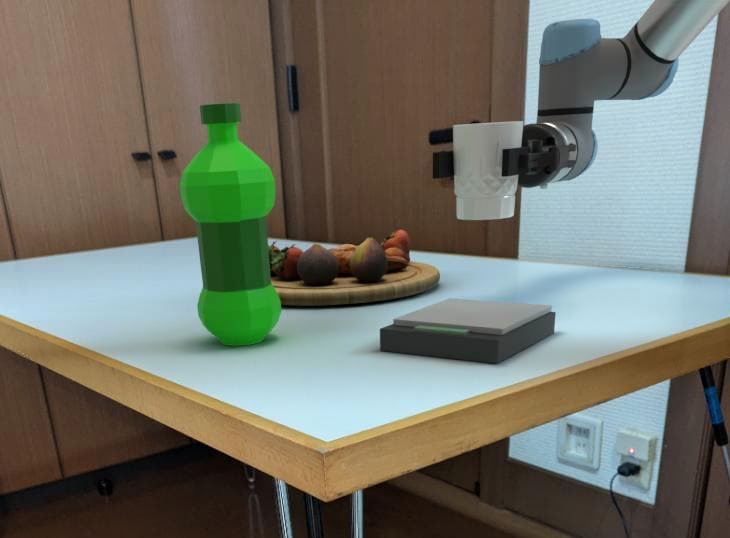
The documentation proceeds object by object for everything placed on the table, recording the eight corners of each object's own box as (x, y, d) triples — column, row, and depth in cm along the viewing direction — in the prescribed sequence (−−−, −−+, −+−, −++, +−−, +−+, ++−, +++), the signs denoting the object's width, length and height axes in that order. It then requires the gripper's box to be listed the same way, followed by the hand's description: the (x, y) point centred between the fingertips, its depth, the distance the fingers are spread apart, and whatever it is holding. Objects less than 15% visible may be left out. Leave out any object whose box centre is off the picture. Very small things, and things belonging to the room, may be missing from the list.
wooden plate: (381, 266, 144) (380, 217, 141) (480, 290, 118) (482, 231, 114) (210, 287, 133) (204, 234, 130) (278, 318, 107) (273, 253, 103)
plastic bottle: (269, 327, 102) (251, 105, 91) (295, 343, 93) (279, 99, 82) (192, 337, 99) (164, 109, 88) (211, 355, 90) (182, 103, 79)
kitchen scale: (554, 333, 91) (556, 305, 90) (497, 363, 81) (498, 332, 79) (445, 323, 99) (445, 297, 97) (380, 350, 88) (379, 322, 87)
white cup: (437, 220, 95) (439, 125, 91) (475, 213, 100) (478, 124, 96) (494, 221, 90) (499, 122, 86) (531, 215, 95) (537, 120, 91)
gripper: (614, 184, 102) (558, 199, 85) (466, 187, 113) (389, 201, 96) (621, 118, 99) (563, 120, 82) (467, 127, 109) (387, 131, 92)
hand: (469, 164), depth 89 cm, fingers closed on white cup, 8 cm apart
